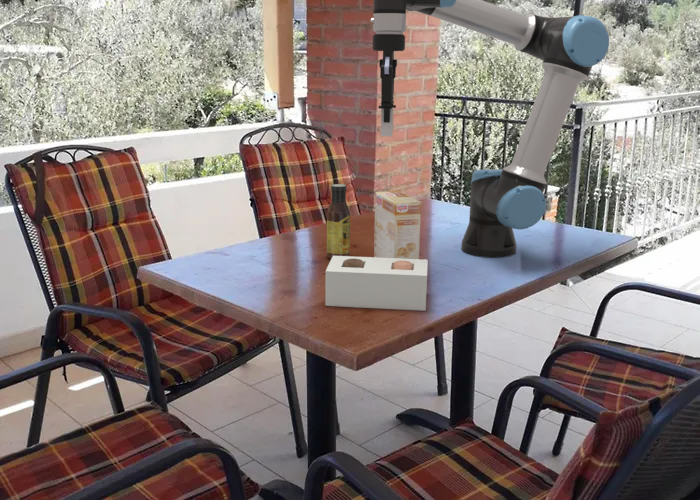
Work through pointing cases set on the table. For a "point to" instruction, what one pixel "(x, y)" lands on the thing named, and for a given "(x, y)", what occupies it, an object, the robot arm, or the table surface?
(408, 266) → the peg
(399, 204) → the coffeecake box
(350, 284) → the block
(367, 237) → the table surface
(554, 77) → the robot arm
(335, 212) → the sauce bottle
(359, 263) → the peg
